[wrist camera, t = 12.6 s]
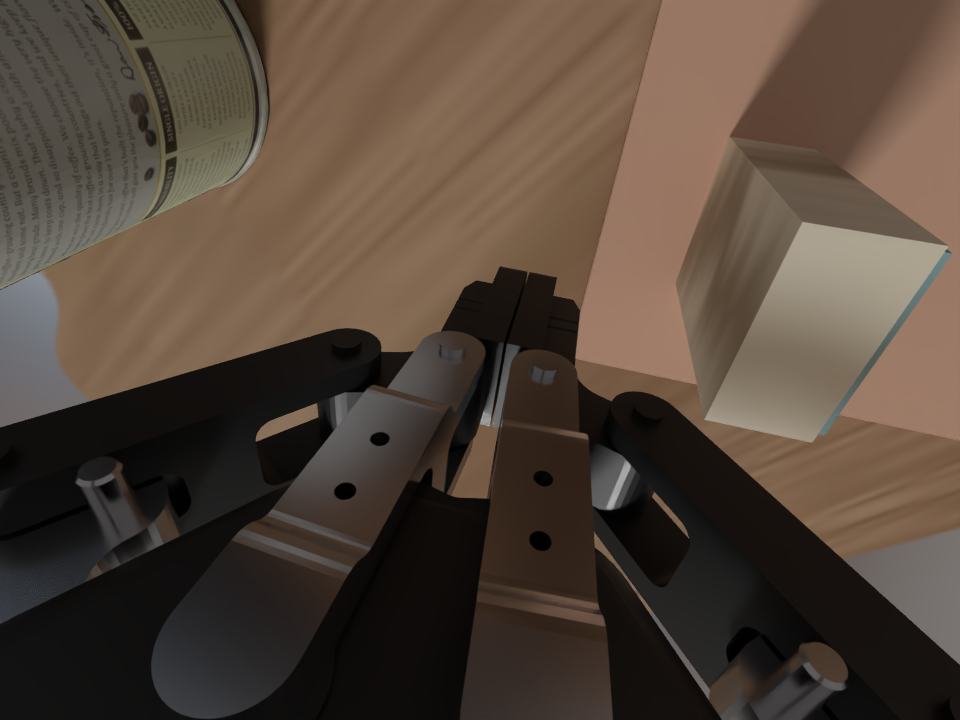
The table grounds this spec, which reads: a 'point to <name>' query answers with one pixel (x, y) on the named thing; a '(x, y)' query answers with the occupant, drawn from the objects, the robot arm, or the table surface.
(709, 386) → the beige rectangular block
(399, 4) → the table surface
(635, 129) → the mat
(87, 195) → the coffee can
